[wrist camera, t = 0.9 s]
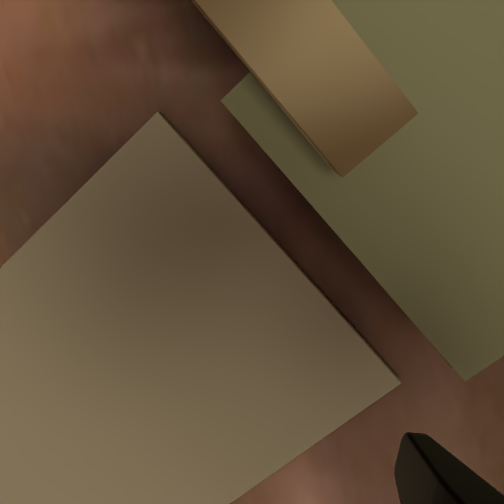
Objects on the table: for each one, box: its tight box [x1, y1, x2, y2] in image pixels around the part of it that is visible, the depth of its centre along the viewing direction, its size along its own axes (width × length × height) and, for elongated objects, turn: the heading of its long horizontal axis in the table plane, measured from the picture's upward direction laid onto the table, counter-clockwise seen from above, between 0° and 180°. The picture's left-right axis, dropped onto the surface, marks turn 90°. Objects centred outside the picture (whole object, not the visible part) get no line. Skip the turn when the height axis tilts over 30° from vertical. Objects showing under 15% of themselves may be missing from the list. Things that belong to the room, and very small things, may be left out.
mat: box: [0, 112, 401, 504], centre depth 23 cm, size 17×24×1 cm
